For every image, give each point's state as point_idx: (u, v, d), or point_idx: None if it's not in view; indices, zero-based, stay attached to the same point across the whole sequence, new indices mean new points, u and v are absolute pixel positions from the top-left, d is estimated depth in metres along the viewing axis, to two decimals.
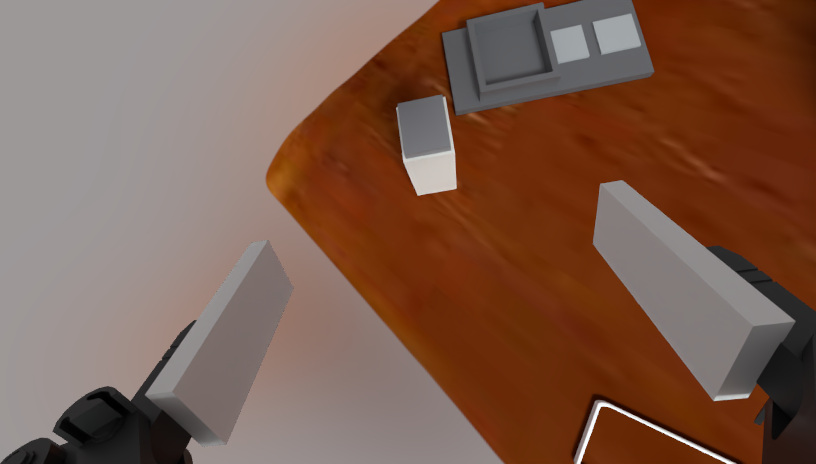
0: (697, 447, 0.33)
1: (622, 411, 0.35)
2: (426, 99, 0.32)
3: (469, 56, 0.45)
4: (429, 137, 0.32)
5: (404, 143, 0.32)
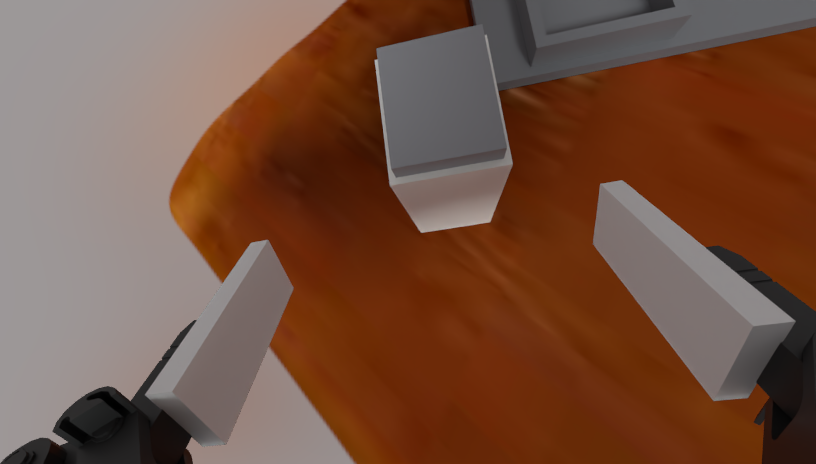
0: None
1: None
2: (445, 36, 0.14)
3: None
4: (452, 126, 0.13)
5: (391, 141, 0.13)
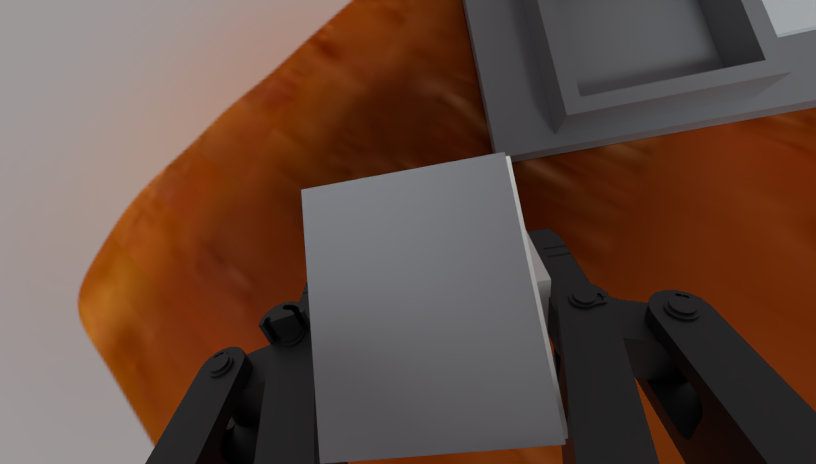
0: None
1: None
2: (433, 174, 0.07)
3: (525, 28, 0.19)
4: (447, 377, 0.06)
5: (323, 397, 0.06)
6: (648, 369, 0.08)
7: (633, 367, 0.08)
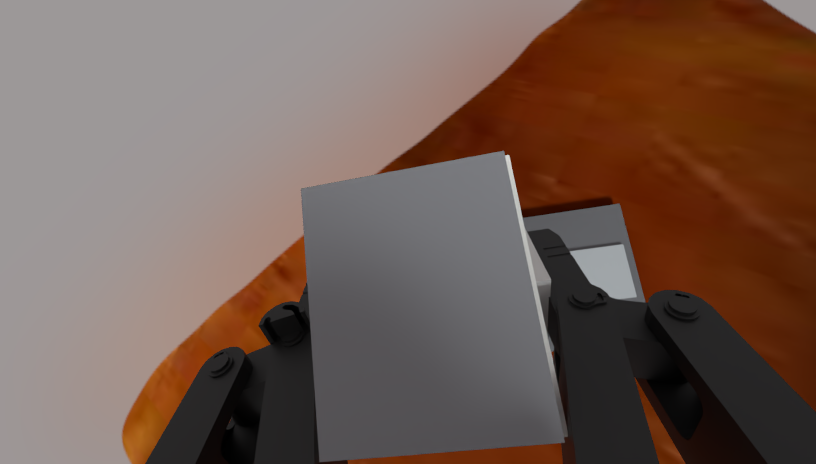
0: None
1: None
2: (432, 173, 0.07)
3: None
4: (446, 375, 0.06)
5: (322, 395, 0.06)
6: (648, 369, 0.08)
7: (633, 367, 0.08)
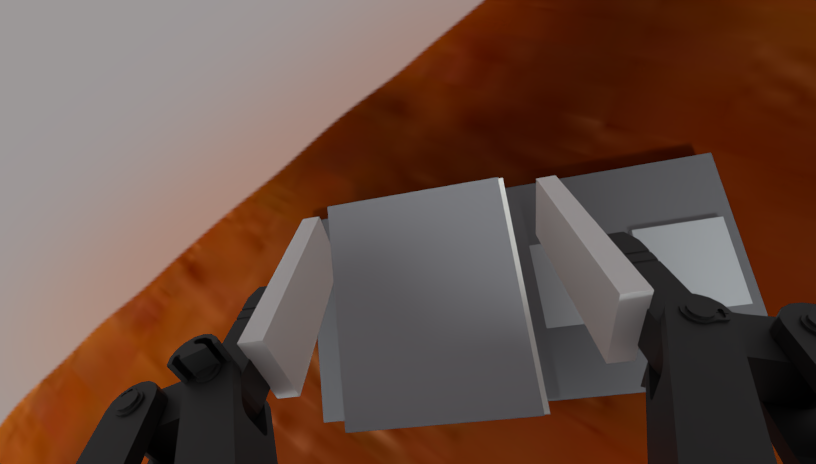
0: None
1: None
2: (438, 194, 0.08)
3: None
4: (449, 362, 0.08)
5: (347, 378, 0.08)
6: (775, 392, 0.07)
7: (756, 389, 0.07)
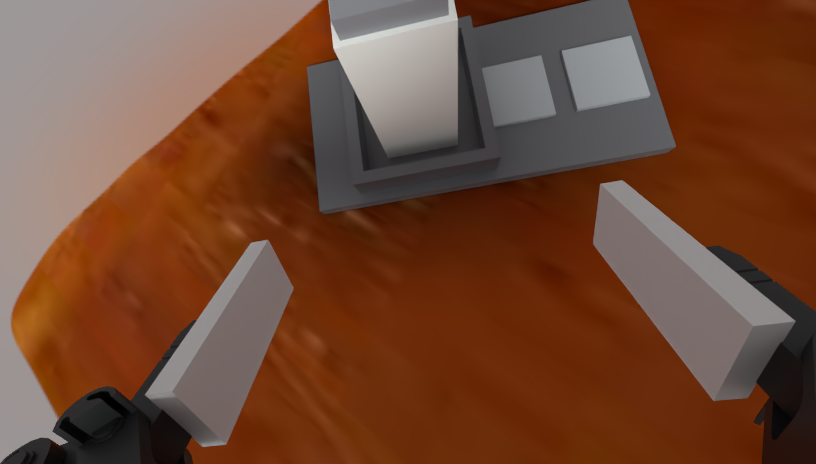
0: None
1: None
2: None
3: None
4: None
5: None
6: None
7: None
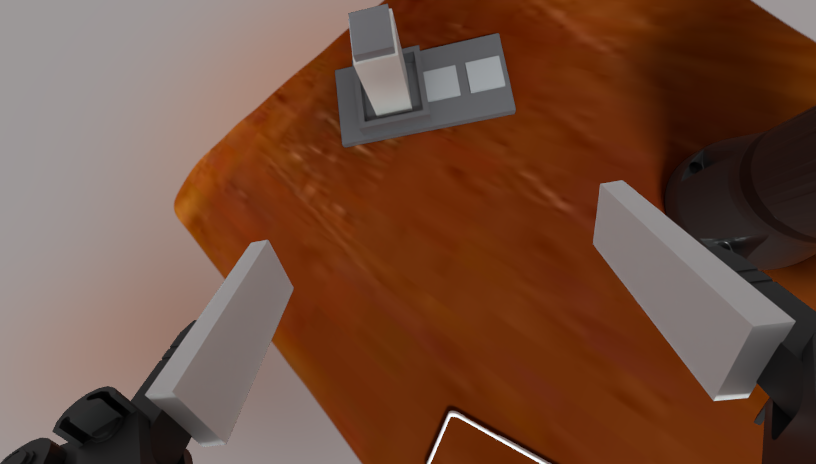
0: (529, 455, 0.37)
1: (468, 421, 0.38)
2: (374, 8, 0.36)
3: None
4: (375, 40, 0.35)
5: (353, 46, 0.36)
6: None
7: None
